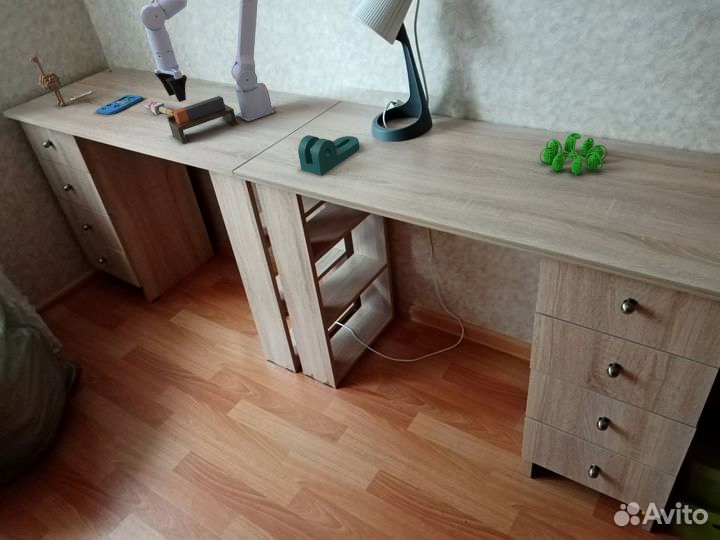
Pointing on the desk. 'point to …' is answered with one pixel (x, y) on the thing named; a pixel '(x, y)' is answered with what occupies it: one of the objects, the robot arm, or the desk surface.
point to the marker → (199, 109)
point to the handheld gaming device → (119, 104)
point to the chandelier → (573, 154)
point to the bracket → (325, 153)
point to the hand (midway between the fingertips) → (177, 97)
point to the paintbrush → (157, 108)
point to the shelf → (200, 122)
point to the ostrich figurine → (51, 83)
